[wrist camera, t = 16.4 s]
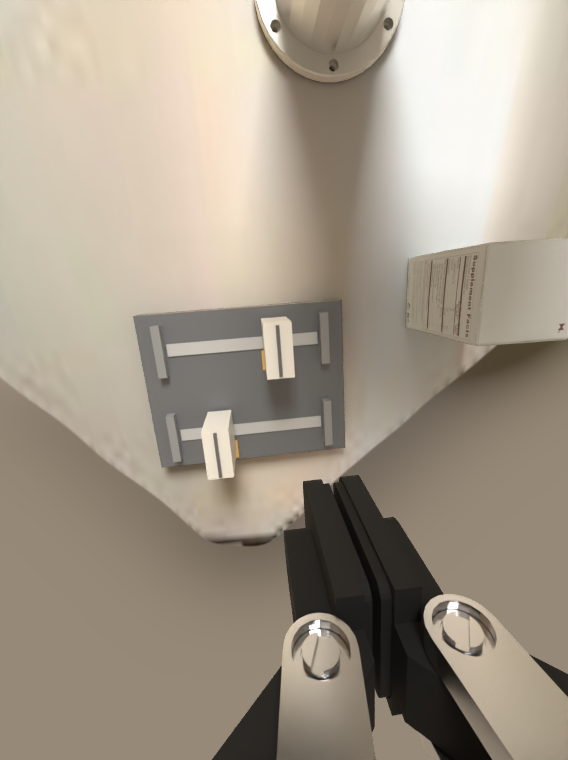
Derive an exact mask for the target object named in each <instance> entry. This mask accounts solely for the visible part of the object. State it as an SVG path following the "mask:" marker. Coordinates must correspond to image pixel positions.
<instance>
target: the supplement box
mask: <svg viewBox="0 0 568 760" xmlns="http://www.w3.org/2000/svg"><path fill="white" fill-rule="evenodd" d="M406 327H407V328H411V329H415V330H419V331H423V332H426V333H430V334H434V335H437V336H441V337H445V338H448V339H452V340H456V341H459V342H463V343H467V344H471V345H476V346H486V345H499V344H512V343H528V342H539V341H553V340H566V339H567V338H568V238H566V239H542V240H522V241H506V242H494V243H487V244H481V245H476V246H471V247H465V248H460V249H454V250H448V251H442V252H437V253H432V254H427V255H422V256H417V257H412V258H409V265H408V285H407V307H406Z"/></svg>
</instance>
